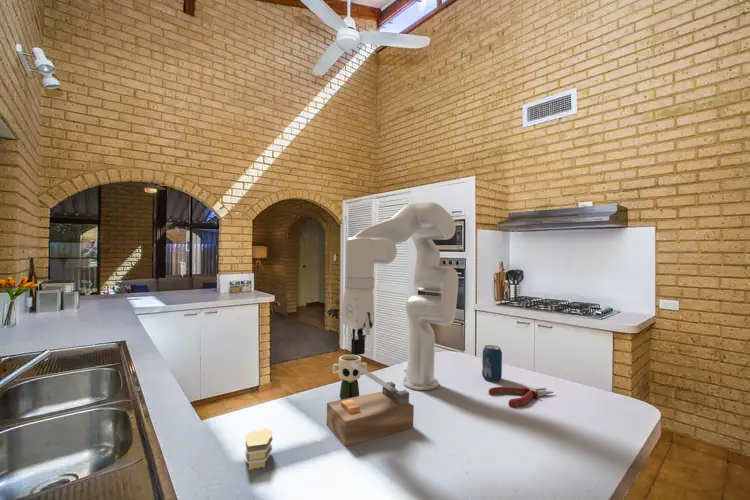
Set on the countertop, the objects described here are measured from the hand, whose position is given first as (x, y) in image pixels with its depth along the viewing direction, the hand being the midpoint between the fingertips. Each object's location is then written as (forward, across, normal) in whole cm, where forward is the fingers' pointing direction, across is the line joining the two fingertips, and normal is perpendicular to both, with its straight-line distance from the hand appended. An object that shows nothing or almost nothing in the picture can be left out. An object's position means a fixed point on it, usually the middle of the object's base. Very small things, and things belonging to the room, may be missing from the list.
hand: (357, 353), depth 96 cm
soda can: (+20, -11, +62) cm, 66 cm away
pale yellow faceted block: (+21, +2, -26) cm, 33 cm away
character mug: (+20, -19, +7) cm, 29 cm away
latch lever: (+8, 0, +5) cm, 10 cm away
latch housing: (+20, 0, +4) cm, 20 cm away
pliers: (+21, +7, +58) cm, 62 cm away
